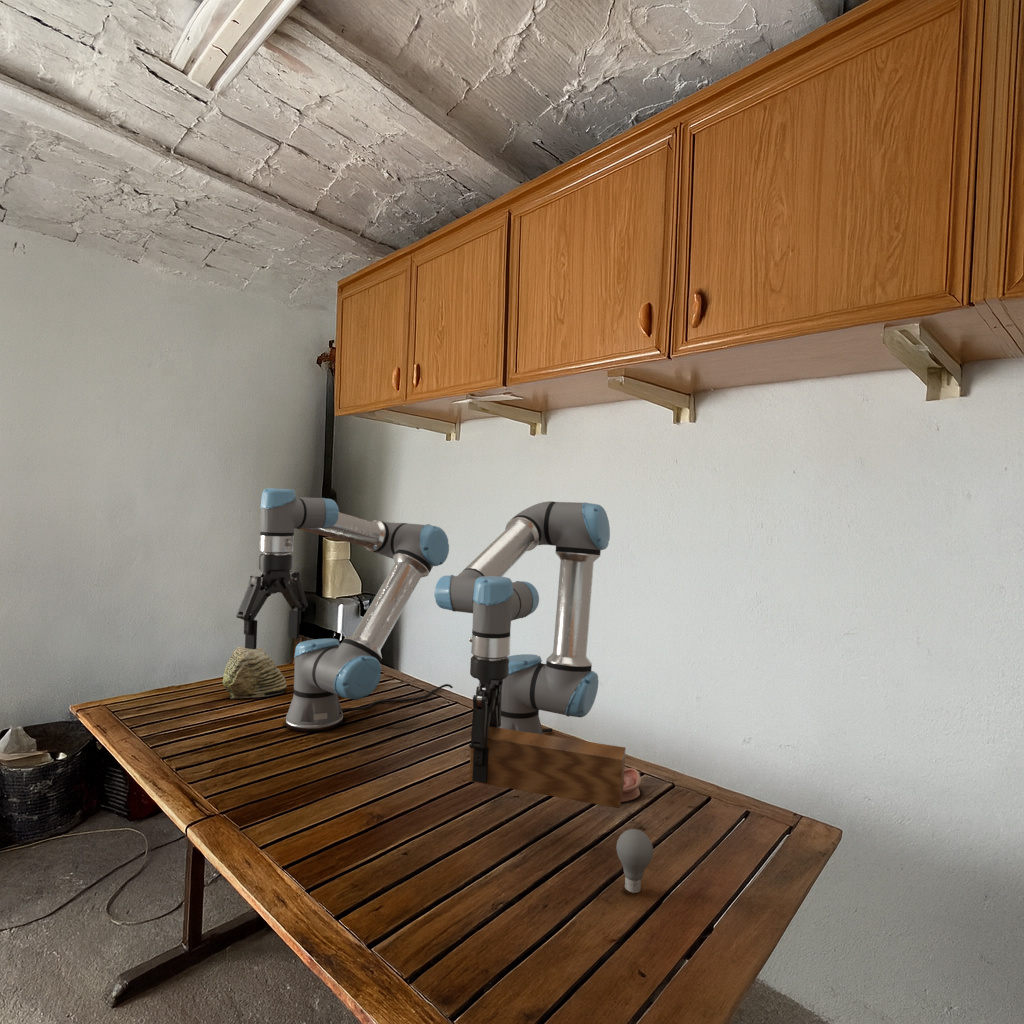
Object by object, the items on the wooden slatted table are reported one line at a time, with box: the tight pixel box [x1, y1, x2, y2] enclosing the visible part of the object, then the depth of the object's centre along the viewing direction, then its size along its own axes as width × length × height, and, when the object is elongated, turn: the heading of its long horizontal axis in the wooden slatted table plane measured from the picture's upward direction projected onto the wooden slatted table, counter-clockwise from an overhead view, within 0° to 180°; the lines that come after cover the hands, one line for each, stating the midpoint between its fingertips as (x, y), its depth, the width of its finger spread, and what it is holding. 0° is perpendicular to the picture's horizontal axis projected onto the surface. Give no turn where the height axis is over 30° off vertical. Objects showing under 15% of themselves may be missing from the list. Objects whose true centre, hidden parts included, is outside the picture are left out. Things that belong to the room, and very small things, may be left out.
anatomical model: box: [621, 767, 642, 803], centre depth 142 cm, size 13×4×12 cm
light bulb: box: [615, 828, 654, 894], centre depth 106 cm, size 6×6×10 cm
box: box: [468, 726, 627, 809], centre depth 121 cm, size 29×6×9 cm, turn 74°
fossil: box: [222, 646, 288, 699], centre depth 198 cm, size 9×18×15 cm, turn 132°
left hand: (272, 643), depth 150 cm, fingers open, 13 cm apart
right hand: (484, 773), depth 124 cm, fingers closed on box, 6 cm apart
